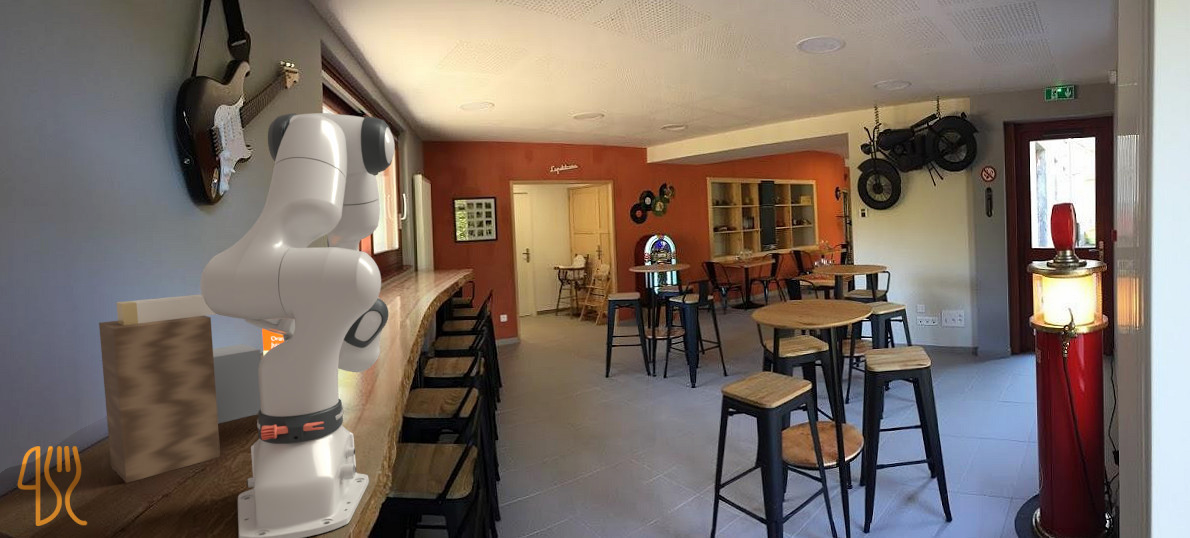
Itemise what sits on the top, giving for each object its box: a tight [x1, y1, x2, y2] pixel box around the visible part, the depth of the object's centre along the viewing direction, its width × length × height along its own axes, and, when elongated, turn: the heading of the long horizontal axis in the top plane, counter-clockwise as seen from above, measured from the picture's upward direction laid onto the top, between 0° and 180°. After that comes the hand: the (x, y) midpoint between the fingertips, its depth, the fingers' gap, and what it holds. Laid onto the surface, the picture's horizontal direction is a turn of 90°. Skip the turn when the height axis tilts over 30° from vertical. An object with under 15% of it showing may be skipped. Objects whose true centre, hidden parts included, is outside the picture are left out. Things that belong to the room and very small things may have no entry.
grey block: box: [213, 343, 262, 425], centre depth 135 cm, size 10×10×14 cm
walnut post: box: [98, 315, 221, 484], centre depth 108 cm, size 14×10×26 cm
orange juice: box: [261, 328, 284, 356], centre depth 166 cm, size 8×9×20 cm
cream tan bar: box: [115, 293, 217, 325], centre depth 110 cm, size 20×4×4 cm, turn 140°
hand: (243, 307), depth 118 cm, fingers open, 8 cm apart
